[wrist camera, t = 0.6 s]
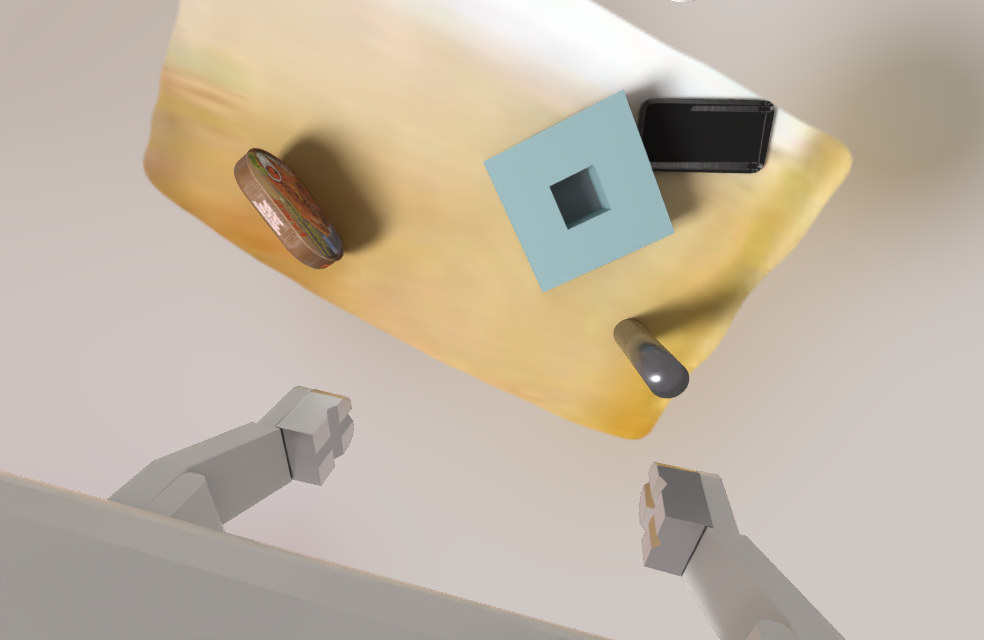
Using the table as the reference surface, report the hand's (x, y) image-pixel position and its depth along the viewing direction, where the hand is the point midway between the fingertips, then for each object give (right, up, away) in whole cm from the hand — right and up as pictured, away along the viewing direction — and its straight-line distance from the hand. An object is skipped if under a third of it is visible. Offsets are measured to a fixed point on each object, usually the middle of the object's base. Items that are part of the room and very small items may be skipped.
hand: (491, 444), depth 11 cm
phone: (+25, +25, +40) cm, 53 cm away
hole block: (+10, +18, +41) cm, 46 cm away
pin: (+18, +2, +46) cm, 50 cm away
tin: (-23, +17, +43) cm, 52 cm away
